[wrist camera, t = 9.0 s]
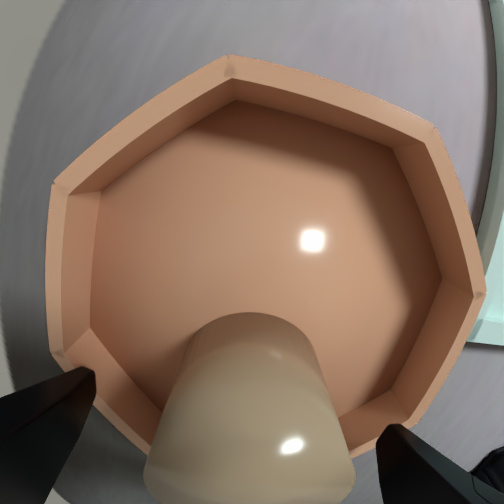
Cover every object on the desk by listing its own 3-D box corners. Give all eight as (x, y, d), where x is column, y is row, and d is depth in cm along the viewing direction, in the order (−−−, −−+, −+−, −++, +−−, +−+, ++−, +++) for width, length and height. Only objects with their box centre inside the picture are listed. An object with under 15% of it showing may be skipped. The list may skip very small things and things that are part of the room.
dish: (471, 175, 8) (516, 178, 6) (357, 442, 11) (370, 480, 9) (124, 72, 8) (90, 45, 5) (87, 390, 11) (63, 425, 8)
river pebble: (336, 327, 9) (394, 441, 4) (292, 424, 10) (308, 531, 5) (194, 296, 9) (143, 410, 4) (175, 402, 10) (144, 511, 5)
